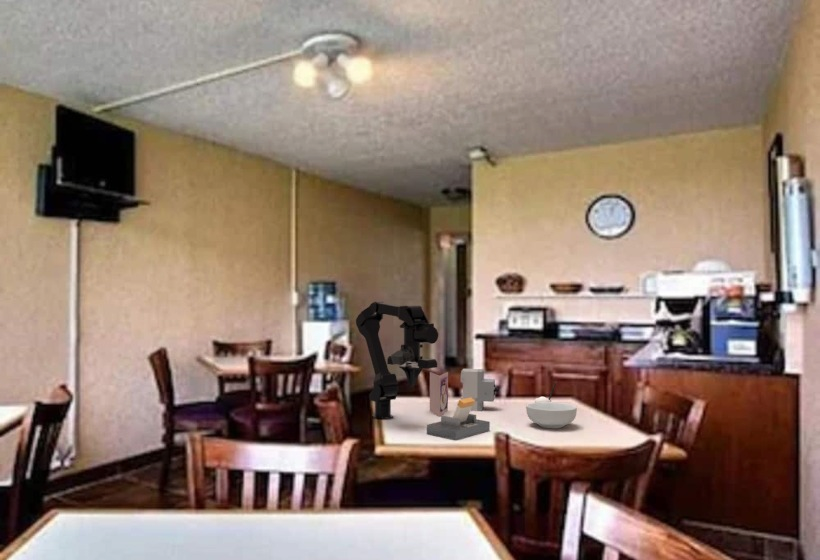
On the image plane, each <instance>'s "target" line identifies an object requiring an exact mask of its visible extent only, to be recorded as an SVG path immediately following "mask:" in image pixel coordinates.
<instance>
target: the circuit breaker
mask: <svg viewBox="0 0 820 560" xmlns="http://www.w3.org/2000/svg"><path fill="white" fill-rule="evenodd" d="M484 371H485V370H484V368H462V370H461V371H460V383H461V384H462V395H461V397H460V400H461V399H466V398H472V399H474V400H475V402H474V405H473V406H472V408H471V410H470V412H471V411H473V412H482V411H483V409H484V404H485V403H484V402H486V403H487V402H488V403H489V402H492V403H493V402H495V401H494V400H495V399H496V393H498V392H499V391H500V388H499V387H496V379H495V378H485V375H484V373H485V372H484Z"/></svg>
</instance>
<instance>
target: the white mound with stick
mask: <svg viewBox="0 0 820 560" xmlns="http://www.w3.org/2000/svg"><path fill="white" fill-rule="evenodd" d="M556 385H557V381H555V382H554V384H553V386H552V389H551V392H550V395H549V396H548V397H545V396H540V397H537V398H535V399H534V403H538V402H552V400H551V399H552V396H553V393H554V390H555V388H556Z"/></svg>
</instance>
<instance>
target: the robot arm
mask: <svg viewBox="0 0 820 560" xmlns="http://www.w3.org/2000/svg"><path fill="white" fill-rule="evenodd" d="M384 315H388V316H393V317H396V318H398V320H399V321H402V323H401V324H400V325H399V328H400V329H403V344H401V345H400V349H398V350H397V351H395V352H394V353H392V354H391V355H389V356H388V357H387V359H386V357H385V354H384V350H383V346H382V342H381V340H380V337H379V332H380V329H381V325H380V323H381V322H382V320H383V319H384ZM355 324H356V327H357V329H358V332H359V334H361V335H362V337H364V338H365V341H366V346H367V349H368V353H369V357H370V360H371V364H372V367H373V370H374V375H375V376H374V379H373V383H372V384H373V389H372V390H371V392H370V393H369V395H368V398H369V401H371V402H374V413H372V414H371V415H372V417H374V419H379V420H380V419H381V420H382V419H394V416H393V415H392V414H391V413H392V412H391V406H392V405H391V403H392V400H397V399H396V398H397V395H398V391H399V382H398V380H397V375H396V373H391V372H390V371H389V368H388V365H392V366H393V365H399V367H398V368H399V369H401V370H402V371H403V372H404V373H405V376H406V379H407V382H408V385H409V387H410V388H413V387H415V384H416V383H417V381H418V378H419V376H420V374H421V372H422V371H423V369H426V370H427V369H435V368H438V361H437V360H436V358H423V355H422V356H421V348H423V347H424V345H423V344H429V345H434V344H435V343H436V342H437V341H438V338H439V331H438V329H437V328H436V327H435V323H434V322H433V323H430V322H429V319H428V318H427V316H426V314H425V312H424V310H423V308H422V306H421V305H416V304H415V305H412V304H411V305H399V304H394V303H387V302H384V301H373V302H372V303H371V304H369V306H368V307H366V308H365V309H363V310H362V311H361V312H360V313H359V314H358V315H357V316H356V319H355ZM421 343H422V344H421Z"/></svg>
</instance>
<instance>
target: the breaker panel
mask: <svg viewBox="0 0 820 560" xmlns="http://www.w3.org/2000/svg"><path fill="white" fill-rule="evenodd" d="M490 427H491V423H490V421H487V420H482V419H477V414H474V413H473V414H472V413H469V415H468V417H467V420H466V421H463V422H460V419H458V418H453V416H447V415H446V416H445V415H441V416H440V421H437V422H433V423H428V424H426V435H430V436H433V437H439V438H445V439H449V440H454V441H457V440H461V439H465V438H468V437H472V436H475V435H479V434H483V433H485V432H489V431H491V430H490Z"/></svg>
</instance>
